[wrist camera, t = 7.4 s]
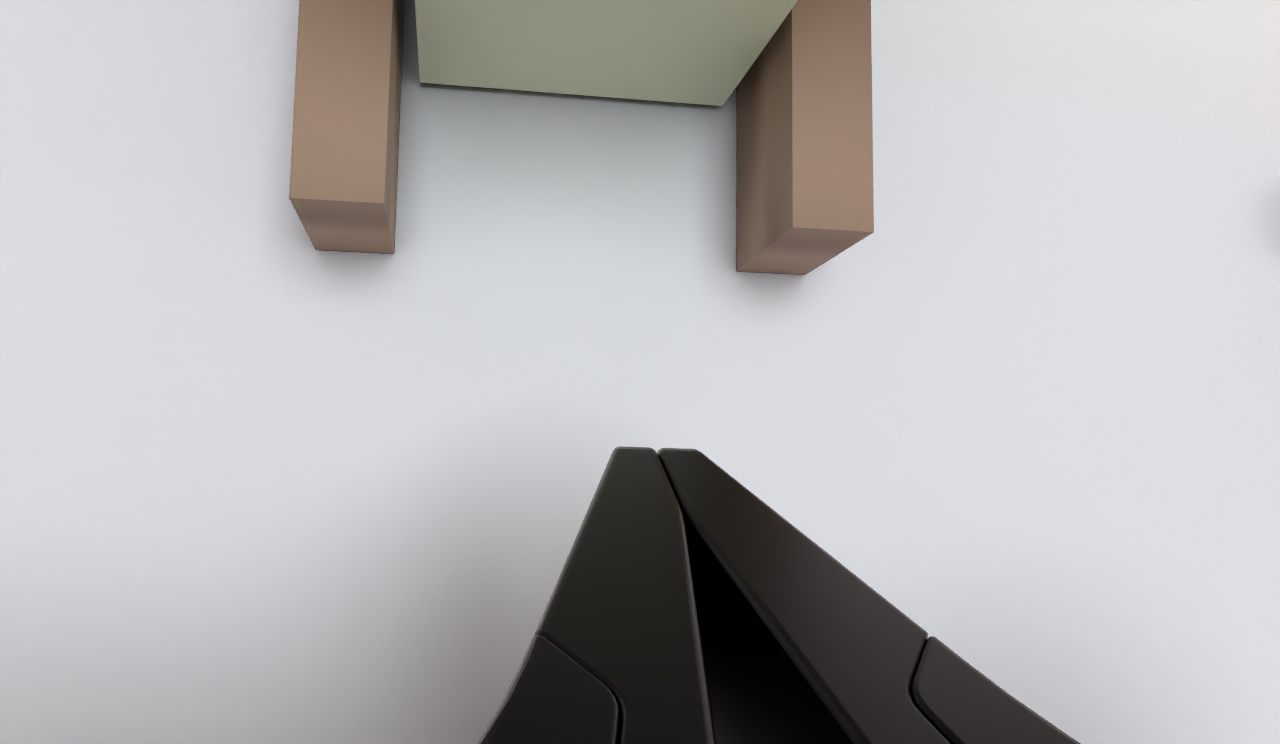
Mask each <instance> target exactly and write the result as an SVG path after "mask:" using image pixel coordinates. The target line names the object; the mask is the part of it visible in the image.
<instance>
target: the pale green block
mask: <svg viewBox="0 0 1280 744" xmlns="http://www.w3.org/2000/svg"><path fill="white" fill-rule="evenodd" d="M797 1H798V0H415V9H416V27H417V44H418V62H419V79H420V83H432V84H445V85H458V86H471V87H484V88H497V89H509V90H522V91H535V92H548V93H561V94H574V95H587V96H599V97H612V98H625V99H638V100H651V101H664V102H677V103H689V104H702V105H715V106H723V105H724V104H725V102H726V101H727V100H728V98H729V97H730V95H731V94H732V93H733V91H734V90H735V88H736V87H737V85H738V84H739V83H740V81H741V80H742V78H743V77H744V76H745V74H746V73H747V71H748V70H749V69H750V67H751V66H752V64H753V63H754V61H755V60H756V59H757V57H758V56H759V54H760V53H761V52H762V50H763V49H764V47H765V46H766V45H767V43H768V42H769V40H770V39H771V38H772V36H773V35H774V33H775V32H776V30H777V29H778V28H779V26H780V25H781V23H782V22H783V21H784V19H785V18H786V16H787V15H788V14H789V12H790V11H791V9H792V8H793V6H794V5H795V4H796V2H797Z"/></svg>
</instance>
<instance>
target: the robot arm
mask: <svg viewBox="0 0 1280 744" xmlns="http://www.w3.org/2000/svg"><path fill="white" fill-rule="evenodd" d="M927 638H928V634H927V632H926V631H925V630H923V629H922V628H921V627H920V626H918V625H917V624H916V623H915V622H913V621H912V620H911V619H910V618H908V617H907V616H906V615H905V614H903V613H902V612H901V611H900V610H898V609H897V608H896V607H895V606H893V605H892V604H891V603H890V602H888V601H887V600H886V599H885V598H883V597H882V596H881V595H879V594H878V593H877V592H876V591H874V590H873V589H872V588H871V587H869V586H868V585H867V584H866V583H864V582H863V581H862V580H861V579H859V578H858V577H857V576H856V575H854V574H853V573H852V572H851V571H849V570H848V569H847V568H846V567H844V566H843V565H842V564H841V563H839V562H838V561H837V560H836V559H834V558H833V557H832V556H831V555H829V554H828V553H827V552H826V551H824V550H823V549H822V548H821V547H819V546H818V545H817V544H815V543H814V542H813V541H812V540H810V539H809V538H808V537H807V536H805V535H804V534H803V533H802V532H800V531H799V530H798V529H797V528H795V527H794V526H793V525H792V524H790V523H789V522H788V521H787V520H785V519H784V518H783V517H782V516H780V515H779V514H778V513H777V512H775V511H774V510H773V509H772V508H770V507H769V506H768V505H767V504H765V503H764V502H763V501H762V500H760V499H759V498H758V497H756V496H755V495H754V494H753V493H751V492H750V491H749V490H748V489H746V488H745V487H744V486H743V485H741V484H740V483H739V482H738V481H736V480H735V479H734V478H733V477H731V476H730V475H729V474H728V473H726V472H725V471H724V470H723V469H721V468H720V467H719V466H718V465H716V464H715V463H714V462H713V461H711V460H710V459H709V458H708V457H706V456H705V455H704V454H703V453H701V452H699V451H698V450H696V449H679V448H662V449H660V450H658V452H657V453H656V451H655V450H654V449H652V448H647V447H617V448H615V449H614V450H613V452H612V454H611V457H610V459H609V461H608V464H607V466H606V469H605V471H604V473H603V476H602V478H601V480H600V483H599V485H598V487H597V490H596V492H595V494H594V497H593V499H592V501H591V504H590V506H589V509H588V511H587V513H586V516H585V518H584V520H583V523H582V525H581V527H580V530H579V532H578V534H577V537H576V539H575V541H574V544H573V546H572V549H571V551H570V553H569V556H568V558H567V560H566V563H565V565H564V567H563V570H562V572H561V574H560V577H559V579H558V581H557V584H556V586H555V588H554V591H553V593H552V596H551V598H550V600H549V603H548V605H547V607H546V610H545V612H544V614H543V617H542V619H541V621H540V624H539V626H538V628H537V631H536V633H535V636H534V637H533V638H532V640H531V643H530V645H529V647H528V650H527V652H526V654H525V657H524V659H523V661H522V664H521V666H520V668H519V670H518V672H517V674H516V676H515V678H514V680H513V682H512V684H511V686H510V688H509V690H508V692H507V694H506V696H505V698H504V701H503V702H502V704H501V706H500V707H499V709H498V711H497V712H496V714H495V716H494V717H493V719H492V721H491V722H490V724H489V726H488V727H487V729H486V731H485V732H484V734H483V736H482V737H481V739H480V741H479V742H478V744H1080V743H1079V742H1077V741H1076V740H1074V739H1073V738H1071V737H1070V736H1068V735H1067V734H1065V733H1064V732H1062V731H1061V730H1059V729H1058V728H1057V727H1055V726H1054V725H1052V724H1051V723H1049V722H1048V721H1047V720H1045V719H1044V718H1042V717H1041V716H1039V715H1038V714H1037V713H1035V712H1034V711H1032V710H1031V709H1029V708H1028V707H1027V706H1025V705H1024V704H1022V703H1021V702H1019V701H1018V700H1017V699H1015V698H1014V697H1012V696H1011V695H1009V694H1008V693H1007V692H1005V691H1004V690H1003V689H1002V688H1000V687H999V686H998V685H996V684H995V683H994V682H992V681H991V680H990V679H988V678H987V677H986V676H984V675H983V674H982V673H980V672H979V671H978V670H976V669H975V668H974V667H973V666H971V665H970V664H969V663H967V662H966V661H965V660H963V659H962V658H961V657H960V656H958V655H957V654H956V653H954V652H953V651H952V650H951V649H949V648H948V647H947V646H946V645H944V644H943V643H942V642H941V641H939V640H938V639H937V638H936V637H933V636H931V637H929V638H928V639H927Z"/></svg>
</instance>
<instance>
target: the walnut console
mask: <svg viewBox="0 0 1280 744" xmlns="http://www.w3.org/2000/svg"><path fill="white" fill-rule="evenodd" d="M403 24H404V0H300V3H299V23H298V42H297V61H296V80H295V99H294V118H293V137H292V157H291V176H290V195H289V198H290V200H291V202H292V204H293V206H294V208H295V210H296V212H297V214H298V216H299V218H300V220H301V222H302V224H303V226H304V228H305V230H306V231H307V233H308V235H309V237H310V239H311V241H312V243H313V245H314V247H315V249H316V250H331V251H351V252H370V253H390V254H394V248H395V223H396V198H397V173H398V148H399V123H400V98H401V74H402V49H403ZM873 232H874V219H873V142H872V65H871V0H798V1H797V2H796V4H795V5H794V6H793V8H792V9H791V11H790V12H789V14H788V15H787V16H786V18H785V19H784V21H783V22H782V23H781V25H780V26H779V28H778V29H777V30H776V32H775V33H774V35H773V36H772V38H771V39H770V40H769V42H768V43H767V45H766V46H765V47H764V49H763V50H762V52H761V53H760V54H759V56H758V57H757V59H756V60H755V61H754V63H753V64H752V66H751V67H750V69H749V70H748V71H747V73H746V74H745V76H744V77H743V78H742V80H741V81H740V83H739V84H738V85H737V271H744V272H763V273H783V274H803V275H806V274H807V273H809V272H810V271H812V270H814V269H815V268H817V267H818V266H820V265H822V264H823V263H825V262H826V261H828V260H830V259H831V258H833V257H835V256H836V255H838V254H839V253H841V252H843V251H844V250H846V249H847V248H849V247H851V246H852V245H854V244H855V243H857V242H859V241H860V240H862V239H863V238H865V237H867V236H868V235H870V234H871V233H873Z"/></svg>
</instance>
